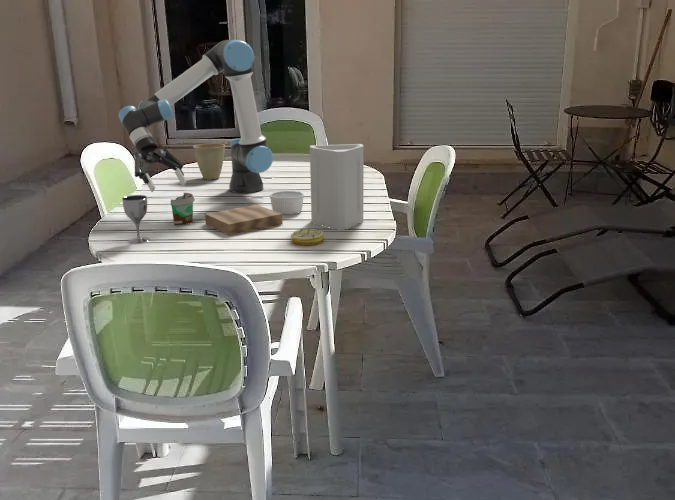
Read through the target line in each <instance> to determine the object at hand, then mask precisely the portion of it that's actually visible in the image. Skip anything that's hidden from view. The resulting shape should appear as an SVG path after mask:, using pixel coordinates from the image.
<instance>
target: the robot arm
mask: <svg viewBox="0 0 675 500" xmlns="http://www.w3.org/2000/svg"><path fill="white" fill-rule="evenodd" d="M201 57H202V58H201V59H200V60H199V61H197V62H196V63H195V64H194V65H192V66H191V67H189V68H188V69H186V70H185V71H183V73H181V74H179V75H178V76H177V77H176V78H174V79H173V80H172V81H170V82H169V83H168V84H166V85H165V86H163V87H162V88H160V89H159V90H158V91H157V92H155V93H154V94H152V95H151V96H149V97H148V98H147V99H146V98H145V99H142V100H141V101H140V102H139V103H138V107H137V108H136V107H135V106H134V105H126V106H124V107H122V108H121V109H120V110H119V111H118V114H117V115H118V118H119V121H120V122H121V125H122V127H123V128H124V130H125V132H126V133H127V135H128V137H129V139H130V140H131V142H132V144H133V146H134V148H135V149H136V151H137V152H135V153H134V154H133V157H132V158H133V160H134V176H135V178H139V179H140V180H142V182H143V184H145V185H147V187H148V189H149V190H150V192H151V193H154V190H156V185H155V184H154V181H153V180H152V179H151V176H150V175H149V173H148V172H146V171H147V169H148V166H149V164H157V163H158V164H163V165H164V166H166V167H167V168H169V169H171V170H173V171H174V174H175V176H176V177H177V180H178V182H179V183H180V185H181V186H182V187H184V186H185V185H186V183H187V180H186V178H185V173H184V172H183V170H182V169H183V167H184V166H185V165H184V163H182V162H181V161H180V159H178V158H177V157H175V156H174V155H173V154H172V153H171V152H169V150H168V149H167V148H166V147H164V148H163V150H160V149H159V147H158V144H157V143H156V141H155V140H154V138H153V135H152V133H151V132H150V131H149V129H148V128H149V127H152V126H154V125H157V124H158V123H162V122H164V121H167V120H169V119H171V118H173V116H174V112H173V109H172V108H173V107H172V106H173V105H175V103H177V102H178V101H179V100H181V99H183V98H184V97H185V96H186V95H188V94H189V93H190V92H192V91H193V90H194V89H196V88H198V87H199V86H200V85H201V84H203V83H204V82H206V80H208V79H210V78H211V77H213V75H214V76H217V75H219V74H220V73H222V72H223V73H224V77H225V78H226V79H227V80H229V84H230V89H231V93H232V99H233V103H234V109H235V114H236V118H237V123H238V129H239V133H240V138H232V139H231V141H230V152H231V167H232V173H231V177H230V182H229V184H228V185H229V186H228V187H229V191H230V192H232V193H238V194H239V193H241V194H243V193H246V194H248V193H249V192H251V193H257V192H261V191H263V190H264V182H263V179H262V176H261V173H264V172H267V171H268V170H269V169H270V167H271V166H272V164H273V162H274V155H273V151H271V149H270V148H269V146H268V142H267V138H266V136H265V135H263V134H262V130H261V125H260V124H261V123H260V118H259V114H258V110H257V103H256V98H255V93H254V88H253V87H254V86H253V83H252V75H253V73H254V68H253V64H254V61H255V54H254V50H253V49H252V47H251V46H250V45H249V44H248V43H247V42H245V41H243V40H241V39H224V40H222V41H220V42H218V43H217V44H216V45H214V46H213V47H212V48H210V49H209V50H208V51H206V52H205V53H204V54H203V55H202V56H201ZM141 159H142V160H144V161H143V165H142V169H141ZM262 189H263V190H262ZM260 190H261V191H260ZM256 191H257V192H256Z"/></svg>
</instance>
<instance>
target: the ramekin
mask: <svg viewBox="0 0 675 500" xmlns="http://www.w3.org/2000/svg"><path fill="white" fill-rule="evenodd" d="M304 197H305V195H304V193H303V192H301V191H298V190H297V191H296V190H281V191H274V192H272V193H270V194H269V199H270V203H271V204H270V205H271V210H273V211H276V212H278V213H281V214H282V215H284V214H289V215H296V214H299V213H301V211H302V210H303V204H304ZM298 212H299V213H298ZM295 213H296V214H295Z"/></svg>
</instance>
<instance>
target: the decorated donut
mask: <svg viewBox="0 0 675 500" xmlns="http://www.w3.org/2000/svg"><path fill="white" fill-rule="evenodd" d="M290 239H291V242H292V243H293V244H295V245H299V246H315V245H318V244H320V243H321V242H323V239H324V232H323V231H322V230H320V229H315V228H303V229H299V230H298V229H297V230H295V231H293V232H292V233H291V234H290Z"/></svg>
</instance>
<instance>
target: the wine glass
mask: <svg viewBox="0 0 675 500" xmlns="http://www.w3.org/2000/svg"><path fill="white" fill-rule="evenodd" d="M121 201H122V208H123V211H124V214H125V215H126V216H127V218H129V220H131V221H132V222H133V224H134V225H135V229H136V235H137V236H136V237H133V238H130V239H128V241H127V242H128V244H133V245H139V244H145V243H148V242H150V239H151V238H149V237H141V234H140V224H141V222H142V220H143V219H144V217H145V216H146V214H147V212H148V211H147V210H148V197H147V196H146V195H144V194H143V195H142V194H131V195H126V196H124V197H122V199H121Z"/></svg>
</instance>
